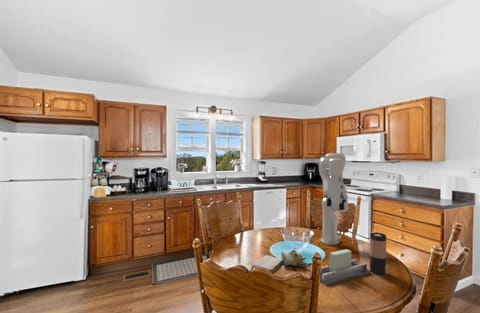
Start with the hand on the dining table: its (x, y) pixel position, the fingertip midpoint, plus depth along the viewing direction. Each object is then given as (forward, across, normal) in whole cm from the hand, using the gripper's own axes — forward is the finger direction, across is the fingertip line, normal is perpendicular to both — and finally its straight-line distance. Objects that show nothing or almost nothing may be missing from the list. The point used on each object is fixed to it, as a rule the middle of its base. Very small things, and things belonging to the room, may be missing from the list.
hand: (335, 207), depth 145 cm
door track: (+30, -16, +12) cm, 36 cm away
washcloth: (+31, +8, +42) cm, 53 cm away
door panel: (+29, -16, +12) cm, 35 cm away
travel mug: (+30, -22, -8) cm, 38 cm away
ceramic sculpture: (+31, +2, +28) cm, 41 cm away
